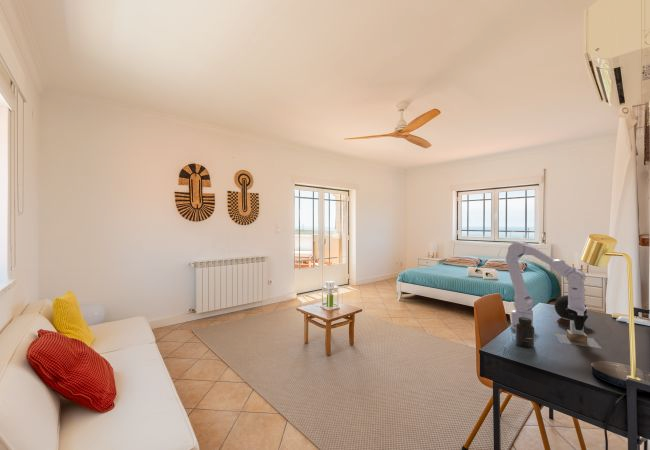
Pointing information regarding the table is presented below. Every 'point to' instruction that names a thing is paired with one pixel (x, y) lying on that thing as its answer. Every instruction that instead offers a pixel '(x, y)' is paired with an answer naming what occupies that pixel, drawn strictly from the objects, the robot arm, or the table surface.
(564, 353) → the table surface
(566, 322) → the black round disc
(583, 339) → the walnut block
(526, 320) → the supplement bottle
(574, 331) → the pale grey small block
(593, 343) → the mat
